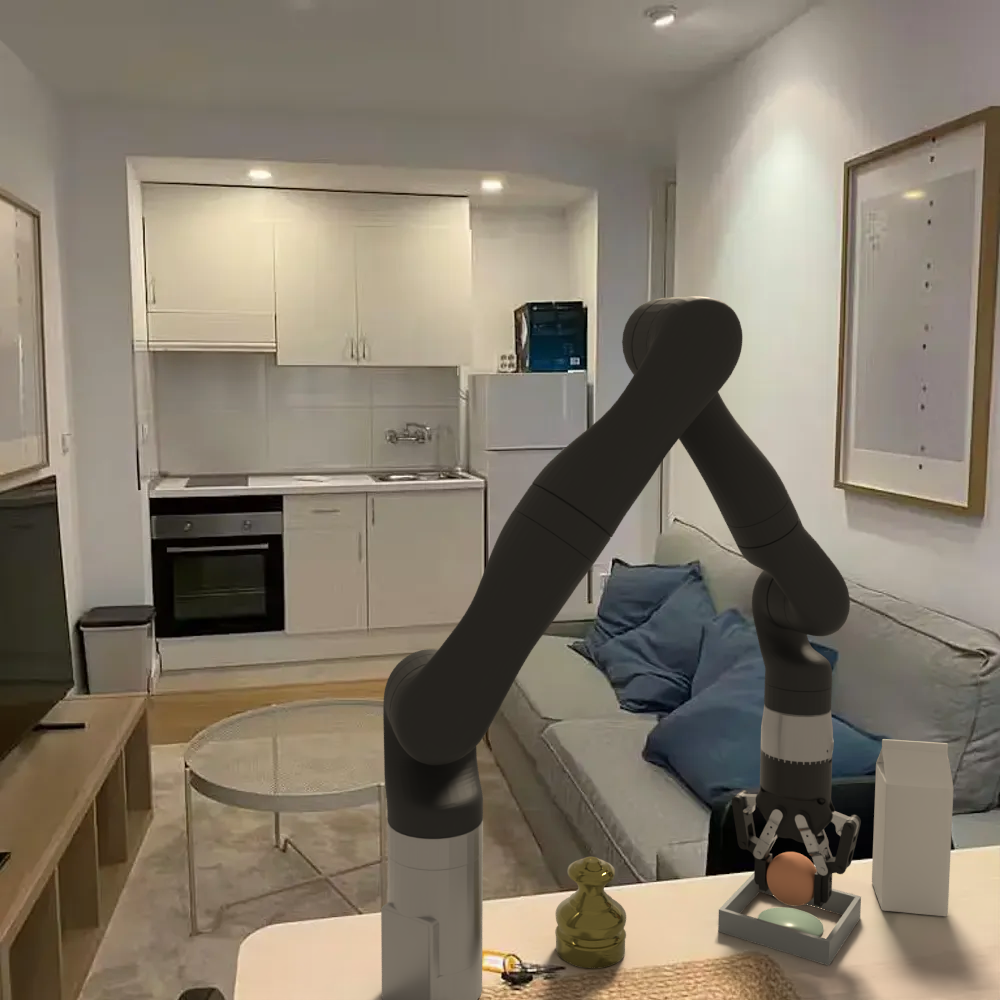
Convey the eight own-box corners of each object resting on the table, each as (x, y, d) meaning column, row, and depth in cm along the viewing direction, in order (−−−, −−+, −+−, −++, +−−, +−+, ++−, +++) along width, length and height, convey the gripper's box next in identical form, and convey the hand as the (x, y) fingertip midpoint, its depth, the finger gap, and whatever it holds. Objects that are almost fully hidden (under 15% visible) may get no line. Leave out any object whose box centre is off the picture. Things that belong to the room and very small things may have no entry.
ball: (829, 908, 110) (830, 859, 110) (789, 919, 108) (790, 869, 108) (794, 887, 116) (795, 839, 115) (755, 897, 113) (756, 849, 113)
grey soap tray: (828, 965, 104) (829, 942, 103) (718, 931, 110) (718, 909, 110) (860, 917, 114) (861, 896, 113) (756, 889, 120) (757, 868, 120)
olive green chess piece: (639, 951, 106) (641, 859, 106) (595, 979, 101) (597, 883, 100) (585, 926, 112) (586, 838, 111) (540, 951, 106) (541, 860, 105)
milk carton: (947, 918, 114) (955, 753, 112) (881, 911, 115) (887, 749, 113) (934, 889, 121) (940, 734, 119) (871, 883, 122) (877, 729, 120)
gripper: (720, 744, 111) (717, 892, 113) (854, 770, 103) (849, 929, 105) (745, 727, 117) (742, 867, 119) (873, 750, 109) (868, 900, 111)
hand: (792, 895), depth 112 cm, fingers closed on ball, 5 cm apart
